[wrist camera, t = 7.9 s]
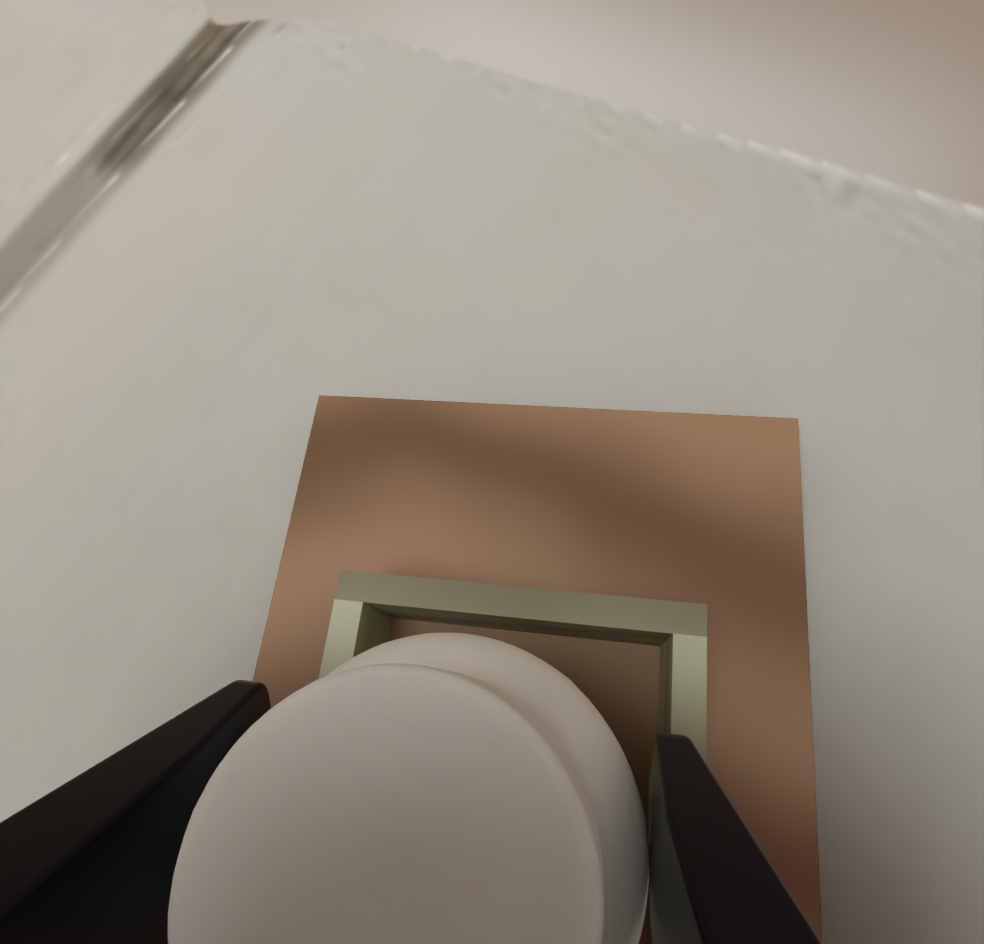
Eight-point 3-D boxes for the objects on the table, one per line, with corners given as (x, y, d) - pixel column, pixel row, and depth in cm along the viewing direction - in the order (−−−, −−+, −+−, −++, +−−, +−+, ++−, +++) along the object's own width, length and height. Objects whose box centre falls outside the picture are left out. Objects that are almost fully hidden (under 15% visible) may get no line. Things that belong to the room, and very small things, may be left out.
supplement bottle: (332, 815, 15) (-29, 937, 6) (477, 623, 16) (351, 491, 7) (521, 1002, 13) (403, 1554, 4) (667, 772, 14) (808, 839, 6)
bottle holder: (826, 1417, 12) (915, 1671, 9) (147, 1227, 14) (21, 1373, 11) (787, 433, 19) (829, 373, 16) (331, 409, 21) (285, 353, 18)
